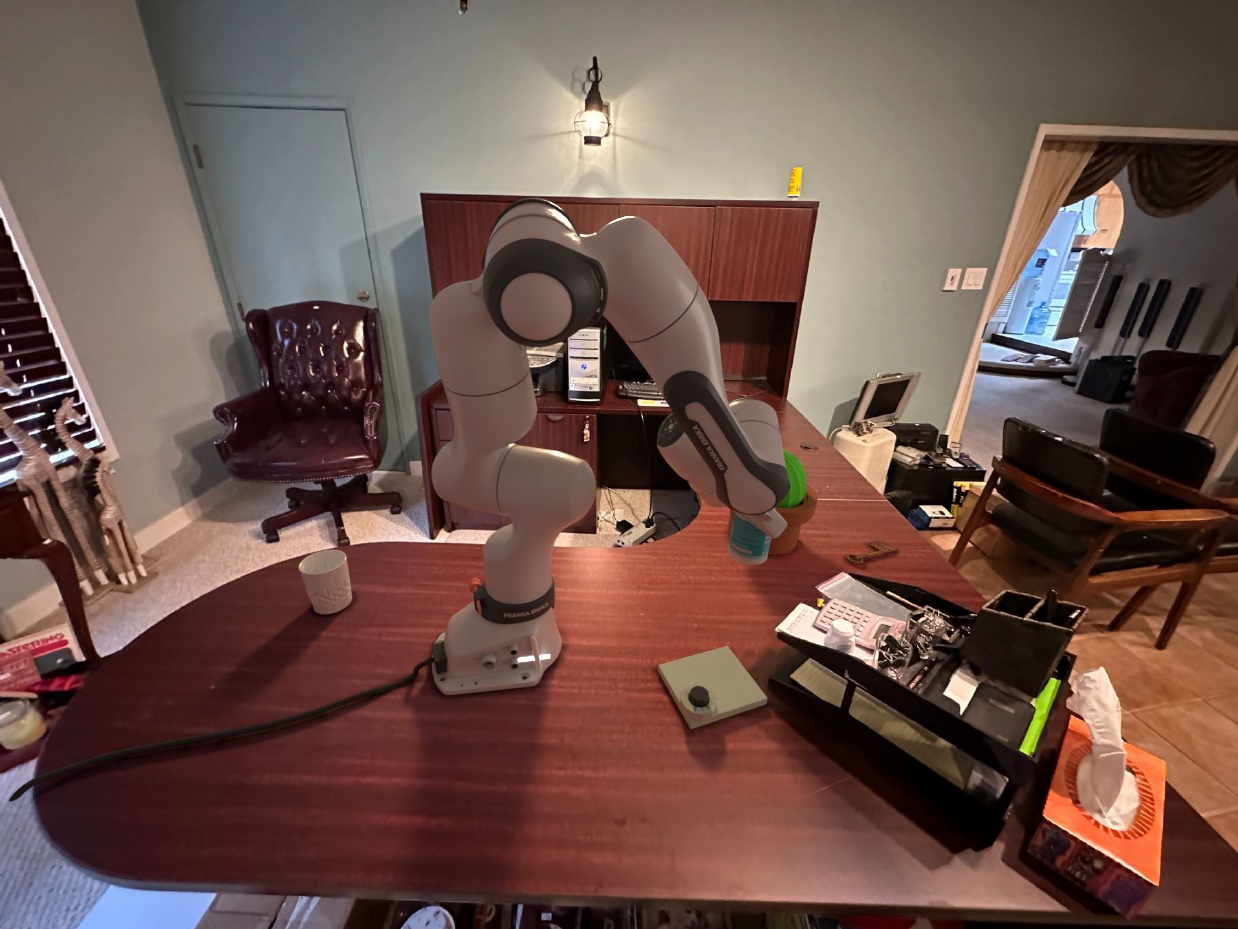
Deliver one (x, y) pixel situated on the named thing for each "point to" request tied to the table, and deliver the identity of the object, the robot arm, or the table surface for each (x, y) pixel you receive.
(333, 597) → the white cup
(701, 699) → the tare button
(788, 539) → the potted cactus
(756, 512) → the robot arm
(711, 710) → the scale
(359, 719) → the table surface
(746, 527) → the pill bottle
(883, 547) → the key
